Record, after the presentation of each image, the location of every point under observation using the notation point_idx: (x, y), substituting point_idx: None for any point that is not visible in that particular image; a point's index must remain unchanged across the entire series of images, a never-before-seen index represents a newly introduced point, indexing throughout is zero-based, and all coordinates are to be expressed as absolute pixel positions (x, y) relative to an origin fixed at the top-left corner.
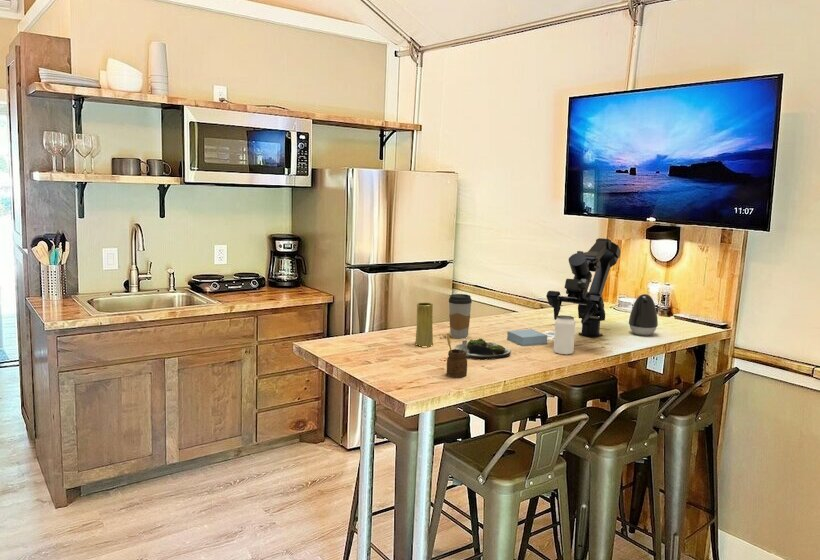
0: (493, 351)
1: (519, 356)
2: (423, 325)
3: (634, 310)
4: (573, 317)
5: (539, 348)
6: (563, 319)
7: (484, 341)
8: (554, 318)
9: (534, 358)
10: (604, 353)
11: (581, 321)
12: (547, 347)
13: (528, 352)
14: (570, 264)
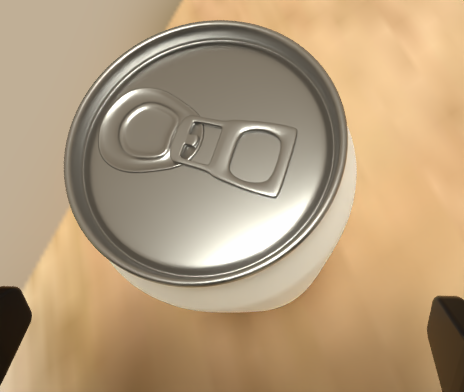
0: None
1: (437, 15)
2: None
3: None
4: (79, 205)
5: (439, 251)
6: (194, 33)
7: None
8: (447, 296)
9: (349, 31)
10: (25, 380)
11: (9, 288)
12: (406, 315)
13: (443, 115)
14: None
